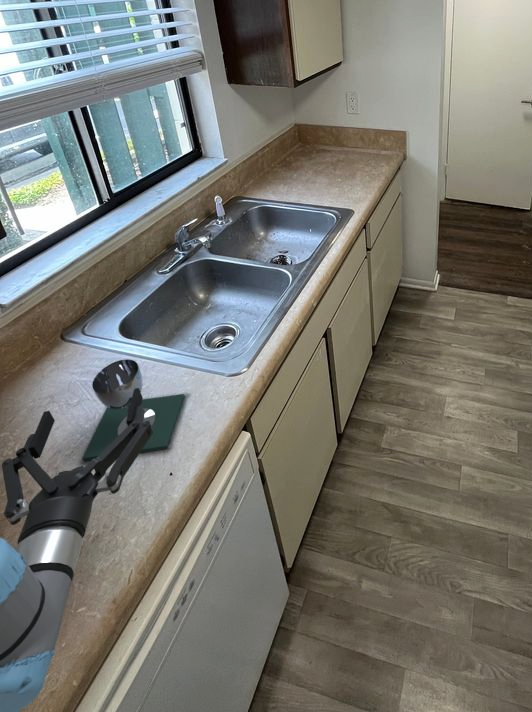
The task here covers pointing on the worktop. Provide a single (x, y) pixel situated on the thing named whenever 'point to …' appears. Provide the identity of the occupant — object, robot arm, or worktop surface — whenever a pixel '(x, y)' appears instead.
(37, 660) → the robot arm
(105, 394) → the wine glass
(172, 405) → the mat
